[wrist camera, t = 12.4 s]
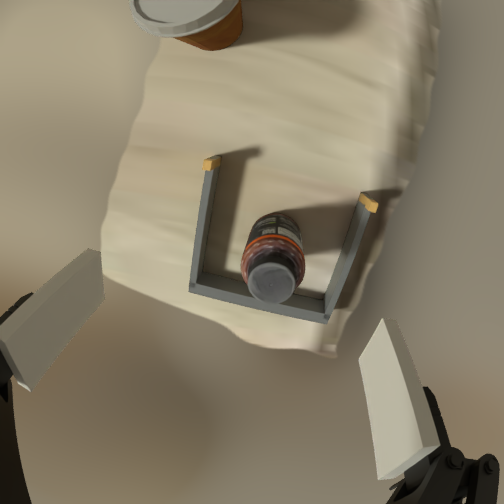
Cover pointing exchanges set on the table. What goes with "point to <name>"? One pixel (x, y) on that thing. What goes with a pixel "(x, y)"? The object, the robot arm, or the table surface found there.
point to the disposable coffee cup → (191, 20)
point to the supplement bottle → (273, 259)
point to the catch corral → (239, 290)
